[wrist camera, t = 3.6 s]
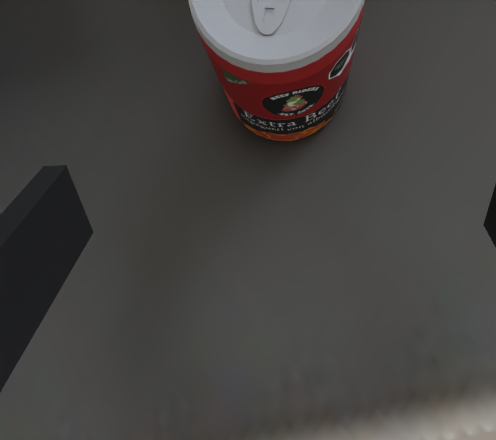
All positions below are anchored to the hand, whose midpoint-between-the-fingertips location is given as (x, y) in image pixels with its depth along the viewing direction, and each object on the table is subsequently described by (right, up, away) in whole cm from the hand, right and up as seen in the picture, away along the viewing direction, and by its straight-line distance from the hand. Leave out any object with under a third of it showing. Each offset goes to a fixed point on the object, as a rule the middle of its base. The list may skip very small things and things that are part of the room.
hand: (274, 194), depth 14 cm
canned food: (+2, +8, +15) cm, 17 cm away
